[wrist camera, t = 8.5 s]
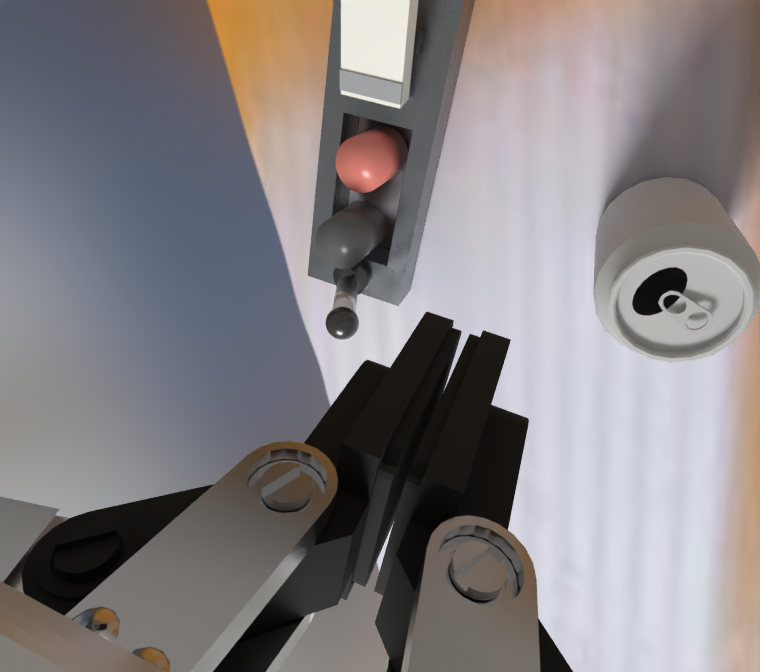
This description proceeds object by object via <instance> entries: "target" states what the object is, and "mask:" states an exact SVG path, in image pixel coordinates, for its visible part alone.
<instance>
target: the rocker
mask: <svg viewBox="0 0 760 672" xmlns="http://www.w3.org/2000/svg"><path fill="white" fill-rule="evenodd" d="M418 1H419V0H341V69H340V90H341V94H343V95H347V96H351V97H355V98H359V99H363V100H367V101H371V102H375V103H379V104H383V105H387V106H391V107H395V108H399V109H400V108H401V107H402V106H403V105H404V104H405V103H406V102H407V100H408V99H409V91H410V81H411V71H412V61H413V51H414V41H415V31H416V21H417V11H418Z"/></svg>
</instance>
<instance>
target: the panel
mask: <svg viewBox="0 0 760 672" xmlns="http://www.w3.org/2000/svg"><path fill="white" fill-rule="evenodd" d="M474 1H475V0H419V1H418V11H417V21H416V31H415V41H414V51H413V61H412V71H411V81H410V91H409V99H408V100H407V102H406V103H405V104H404V105H403V106H402V107H401V108H400V109H399V108H395V107H391V106H387V105H383V104H379V103H375V102H371V101H367V100H363V99H359V98H355V97H351V96H347V95H343V94H341V90H340V69H341V0H334V3H333V14H332V25H331V35H330V46H329V56H328V67H327V77H326V88H325V99H324V109H323V120H322V130H321V141H320V152H319V162H318V173H317V183H316V194H315V204H314V215H313V226H312V236H311V247H310V257H309V268H308V276H311V277H314V278H317V279H320V280H323V281H326V282H328V283H331V284H334V285H336V286H337V283H338V281H339V279H340V278H341V277H343V276H346V275H349V276H352V277H354V278H355V279H356V280H357V282H358V293H357V295H358V294H360V293H361V294H364V295H367V296H370V297H373V298H376V299H379V300H382V301H385V302H388V303H391V304H394V305H397V306H399V304H400V303H401V302H402V300H403V299H404V298H405V296H406V295H407V294H408V292H409V291H410V288H411V283H412V279H413V274H414V270H415V265H416V261H417V256H418V252H419V248H420V243H421V239H422V234H423V230H424V225H425V221H426V216H427V212H428V207H429V203H430V198H431V194H432V189H433V185H434V180H435V176H436V171H437V167H438V162H439V158H440V153H441V149H442V144H443V140H444V135H445V131H446V126H447V122H448V117H449V113H450V108H451V104H452V99H453V95H454V90H455V86H456V82H457V77H458V73H459V68H460V64H461V59H462V55H463V50H464V46H465V41H466V37H467V32H468V28H469V23H470V19H471V14H472V10H473V5H474ZM359 116H360V117H364V118H368V119H371V120H375V121H379V122H383V123H387V124H391V125H395V126H399V127H403V128H407V129H410V130H413V132H412V137H411V143H410V148H409V153H408V158H407V164H406V169H405V174H404V180H403V185H402V190H401V195H400V201H399V206H398V211H397V217H396V222H395V227H394V233H393V238H392V243H391V248H390V250H389V249H386V248H383V247H380V246H376V247H375V248H374V249H373V250H372V251H371V252H370V253H368V254H367V255H366V256H365V257H364V258H363V259H362V260H361V261H360V262H359V263H358V264H357V265H355V266H354V267H352V268H349V269H339V268H336V267H333V266H331V265H330V264H328V263H327V262H326V261H325V260H324V259H323V258H322V256H321V255H320V253H319V251H318V249H317V245H316V233H317V230H318V228H319V227H320V225H321V224H322V223H323V222H325V221H326V220H328V219H329V218H331V217H332V216H334V215H335V214H337V213H338V212H340V211H341V210H343V209H344V208H346V207H347V206H348V199H349V192H350V188H348V187H347V186H346V185H345V184H344V183H343V182H342V181H341V179H340V177H339V175H338V173H337V170H336V154H337V151H338V149H339V147H340V146H341V144H342V143H343V142H344V141H346V140H347V139H349V138H351V137H354V136H356V135H357V131H358V123H359Z"/></svg>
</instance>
